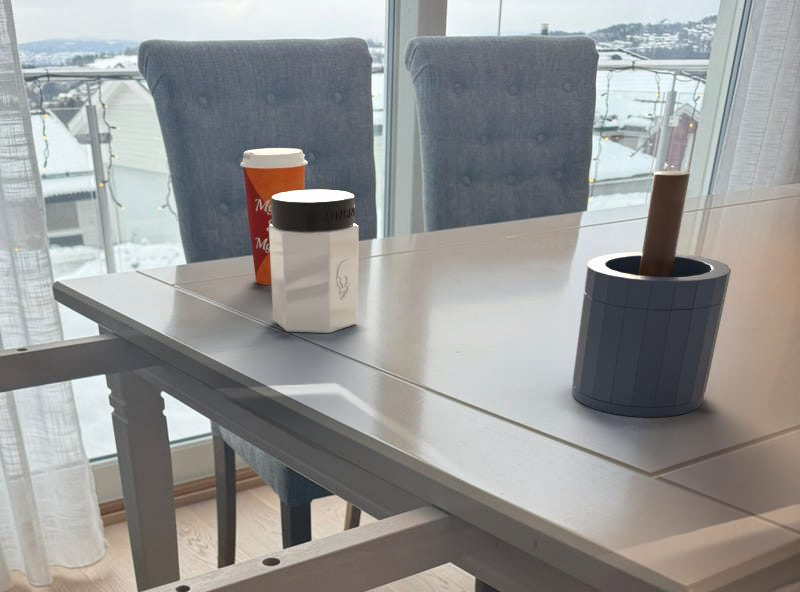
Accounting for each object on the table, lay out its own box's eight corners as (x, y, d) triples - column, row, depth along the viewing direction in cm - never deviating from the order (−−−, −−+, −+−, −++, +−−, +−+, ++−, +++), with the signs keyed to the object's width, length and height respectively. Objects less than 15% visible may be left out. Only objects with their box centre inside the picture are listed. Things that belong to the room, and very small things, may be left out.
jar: (317, 339, 91) (314, 205, 85) (257, 325, 96) (250, 198, 89) (373, 319, 97) (374, 193, 90) (314, 308, 101) (311, 186, 95)
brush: (640, 373, 78) (675, 166, 69) (682, 390, 74) (725, 174, 65) (591, 381, 76) (621, 171, 68) (632, 400, 72) (669, 179, 64)
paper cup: (260, 290, 109) (253, 156, 101) (238, 277, 115) (230, 150, 107) (321, 283, 111) (319, 151, 104) (296, 270, 117) (292, 145, 109)
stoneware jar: (643, 369, 81) (664, 247, 76) (730, 404, 73) (761, 271, 68) (546, 387, 78) (561, 260, 72) (626, 425, 70) (649, 287, 64)
